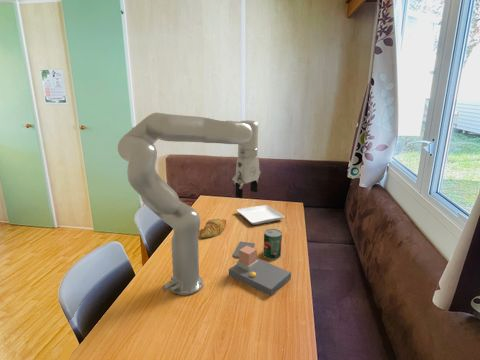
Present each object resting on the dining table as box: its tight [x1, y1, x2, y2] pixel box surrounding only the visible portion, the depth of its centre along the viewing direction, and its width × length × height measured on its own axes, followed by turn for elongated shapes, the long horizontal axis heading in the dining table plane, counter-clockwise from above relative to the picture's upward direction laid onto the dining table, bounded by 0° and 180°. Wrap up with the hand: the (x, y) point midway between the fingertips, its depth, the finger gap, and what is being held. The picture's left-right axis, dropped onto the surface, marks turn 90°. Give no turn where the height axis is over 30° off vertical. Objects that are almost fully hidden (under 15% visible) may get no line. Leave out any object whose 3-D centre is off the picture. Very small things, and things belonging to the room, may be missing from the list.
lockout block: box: [238, 246, 258, 266], centre depth 124 cm, size 5×5×5 cm
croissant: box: [200, 218, 227, 239], centre depth 161 cm, size 21×10×8 cm, turn 151°
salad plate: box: [236, 204, 285, 225], centre depth 180 cm, size 21×21×3 cm
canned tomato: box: [263, 228, 283, 260], centre depth 138 cm, size 8×8×11 cm
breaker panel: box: [228, 257, 292, 297], centre depth 122 cm, size 14×20×5 cm
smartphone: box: [232, 241, 256, 259], centre depth 143 cm, size 8×1×15 cm
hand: (246, 194), depth 126 cm, fingers open, 9 cm apart
